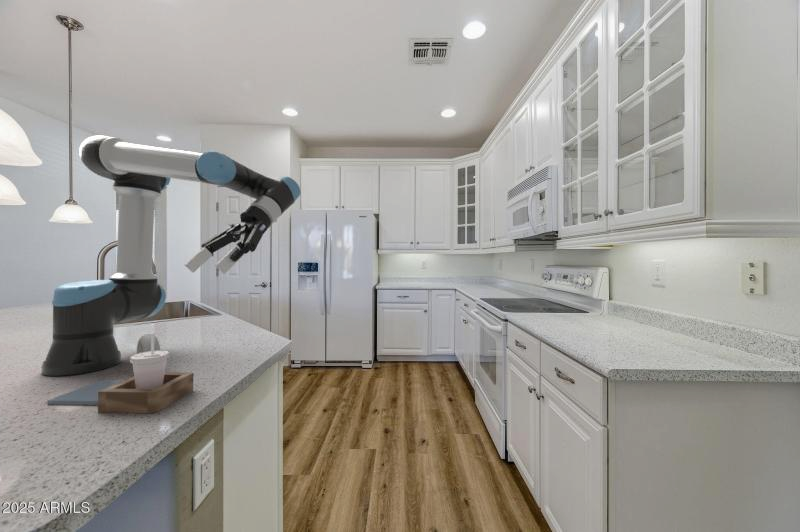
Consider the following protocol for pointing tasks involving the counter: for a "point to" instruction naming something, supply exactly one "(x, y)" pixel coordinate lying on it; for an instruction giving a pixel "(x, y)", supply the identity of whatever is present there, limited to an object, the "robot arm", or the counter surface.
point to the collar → (144, 395)
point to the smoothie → (149, 367)
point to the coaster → (83, 394)
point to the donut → (147, 344)
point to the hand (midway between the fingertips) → (203, 269)
